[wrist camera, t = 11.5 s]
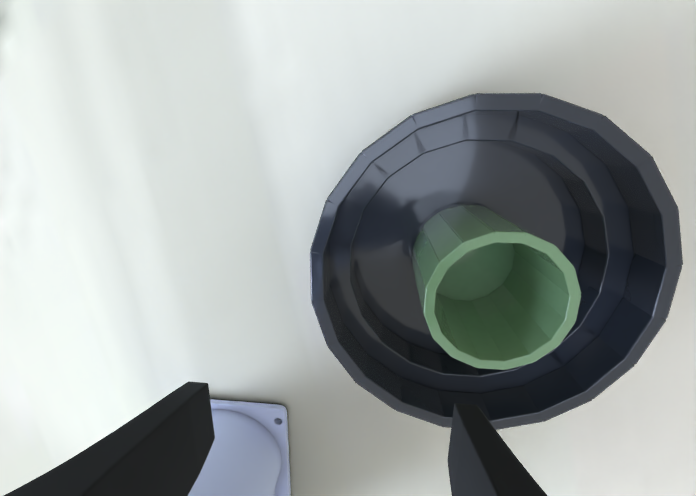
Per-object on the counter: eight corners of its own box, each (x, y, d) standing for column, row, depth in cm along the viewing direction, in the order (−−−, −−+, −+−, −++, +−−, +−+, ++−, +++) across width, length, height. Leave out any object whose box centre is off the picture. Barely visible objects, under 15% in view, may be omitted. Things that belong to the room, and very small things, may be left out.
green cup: (510, 305, 19) (565, 374, 13) (408, 300, 19) (419, 364, 14) (525, 205, 18) (594, 234, 12) (415, 202, 18) (429, 229, 12)
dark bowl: (579, 380, 20) (632, 442, 16) (327, 363, 22) (313, 416, 18) (641, 106, 16) (733, 92, 12) (324, 106, 18) (306, 93, 13)
